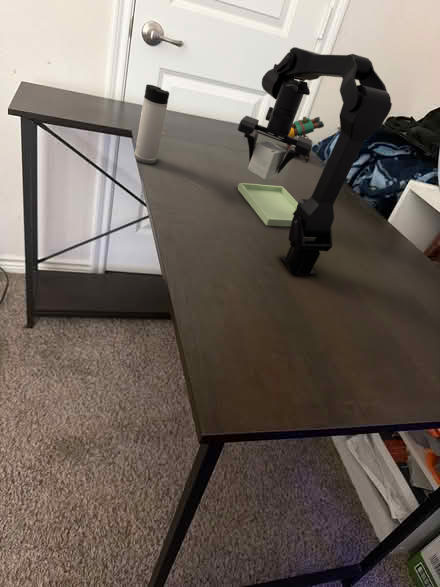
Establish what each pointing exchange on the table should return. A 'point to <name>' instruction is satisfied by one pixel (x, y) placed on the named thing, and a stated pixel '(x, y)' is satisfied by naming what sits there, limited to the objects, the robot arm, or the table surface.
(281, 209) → the tray
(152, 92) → the travel mug
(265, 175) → the product carton
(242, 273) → the table surface
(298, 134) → the binoculars
